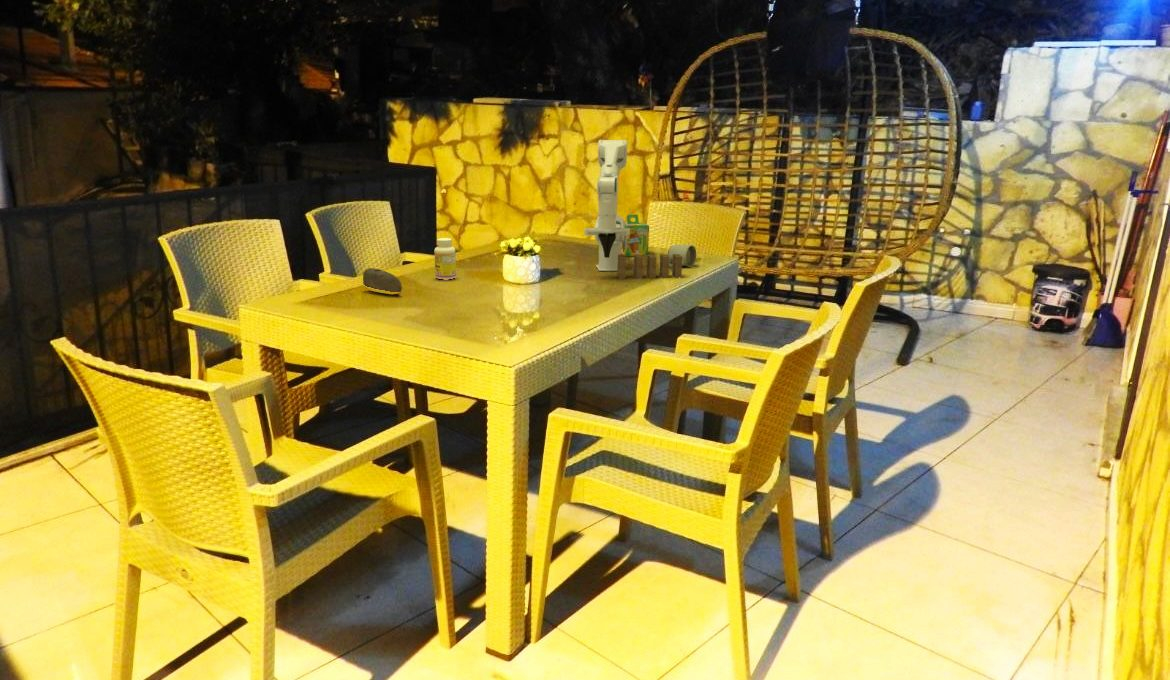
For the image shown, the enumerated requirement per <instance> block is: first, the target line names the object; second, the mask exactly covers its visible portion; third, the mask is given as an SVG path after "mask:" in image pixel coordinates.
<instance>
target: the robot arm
mask: <svg viewBox="0 0 1170 680" xmlns="http://www.w3.org/2000/svg"><path fill="white" fill-rule="evenodd" d="M597 142H598V143H597V157H598V164H599V167H600V174H599V178H597V183H596V191H597V201H598V216H597V218H596V221H595V226H594V227H592V228H591V227H589V228H584V233H583V234H584V236H594V240H595V241H596V243H597V244H598V264H595V268H597V270H598V271H599V272H600V271H601V272H610V271H611V272H613V271H614V272H616V271H617V270H618V255H621V254H620V243H621V242H623V241H624V235H630V229H629V228H625V226H624V223H625V220H624V218H623V217H622V216H620V215H619V214H618V197H619V176H620V173H621V170H622V169H624V168H626V165H627V164H628V163H627V160H628V159H627V157H628V141H627V140H626V139H623V140H622V139H621V140H619V139H614V140H613V139H612V140H611V139H599V140H598V141H597Z"/></svg>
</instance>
